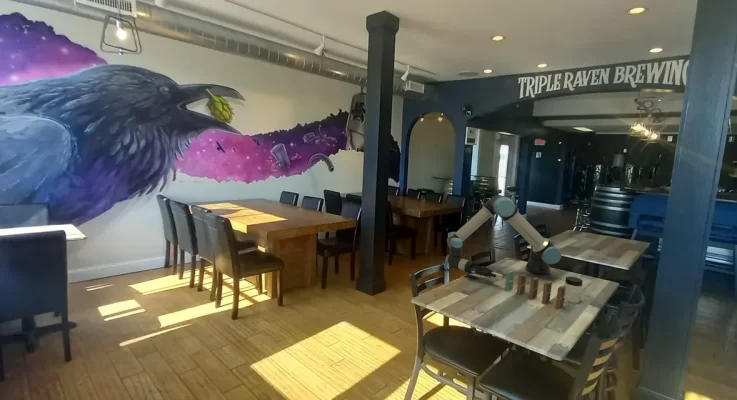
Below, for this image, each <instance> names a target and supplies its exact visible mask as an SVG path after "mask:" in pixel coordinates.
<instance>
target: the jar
mask: <svg viewBox="0 0 737 400" xmlns="http://www.w3.org/2000/svg"><path fill="white" fill-rule="evenodd" d="M563 286H566V290H565V297H564V301H566V302H568V303H573V304H579V303H580V302H581V299H582V293H583V279H581V278H578V277H576V276H566V277H565V281H564V283H563Z"/></svg>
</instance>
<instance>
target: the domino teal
mask: <svg viewBox="0 0 737 400" xmlns="http://www.w3.org/2000/svg"><path fill="white" fill-rule="evenodd" d="M514 281H515V270H512V269H511V270H509V271H507V272H506V276H505V284H504V285H505V286H504V291H505V292H510V291H511V290H513V288H514Z"/></svg>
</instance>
